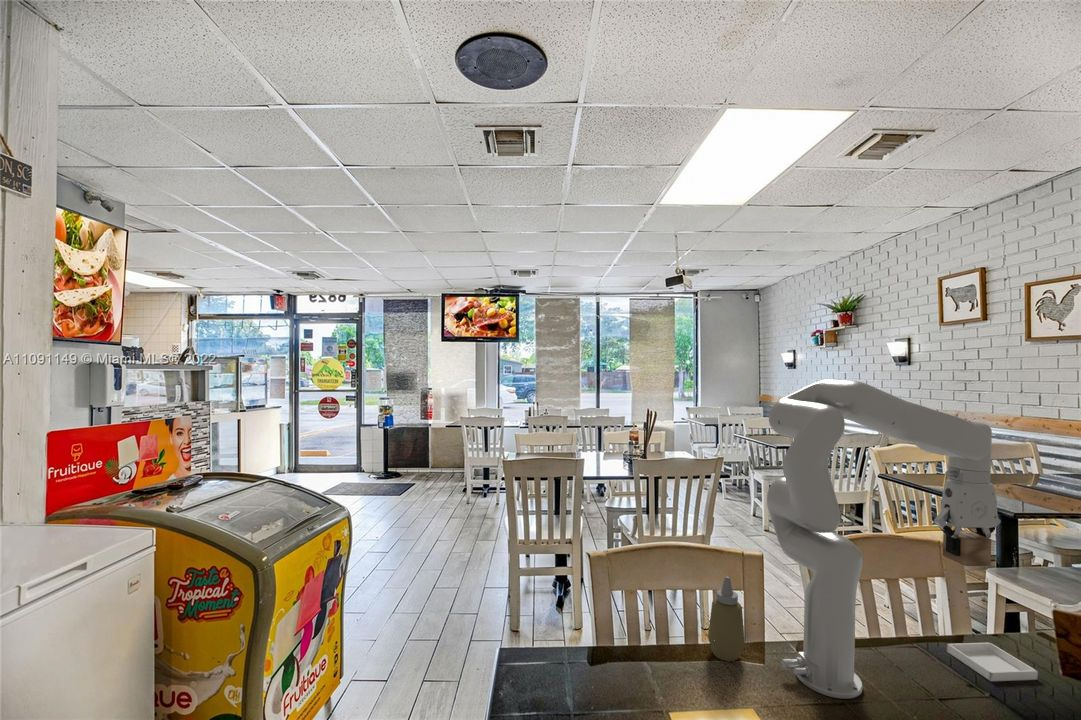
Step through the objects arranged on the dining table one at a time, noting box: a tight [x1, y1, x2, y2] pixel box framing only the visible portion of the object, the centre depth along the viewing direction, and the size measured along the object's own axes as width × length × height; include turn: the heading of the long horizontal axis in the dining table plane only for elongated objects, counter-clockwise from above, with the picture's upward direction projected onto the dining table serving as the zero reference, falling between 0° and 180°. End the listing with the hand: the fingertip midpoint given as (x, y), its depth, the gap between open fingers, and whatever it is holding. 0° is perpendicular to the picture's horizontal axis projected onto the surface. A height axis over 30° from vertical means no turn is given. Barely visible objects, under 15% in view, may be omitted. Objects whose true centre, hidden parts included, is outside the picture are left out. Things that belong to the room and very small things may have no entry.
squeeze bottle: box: [707, 576, 746, 662], centre depth 118 cm, size 8×8×18 cm
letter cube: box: [942, 529, 992, 567], centre depth 117 cm, size 6×6×6 cm
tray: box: [946, 642, 1039, 682], centre depth 115 cm, size 11×11×2 cm
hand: (966, 552), depth 117 cm, fingers closed on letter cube, 6 cm apart
